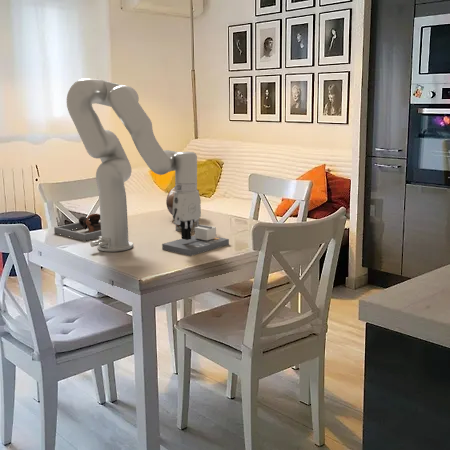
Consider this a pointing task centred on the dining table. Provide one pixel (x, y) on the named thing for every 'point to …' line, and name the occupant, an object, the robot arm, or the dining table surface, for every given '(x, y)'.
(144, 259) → the dining table surface
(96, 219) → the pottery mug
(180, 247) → the board
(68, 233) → the grey shallow tray
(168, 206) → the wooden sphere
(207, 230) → the fader knob
